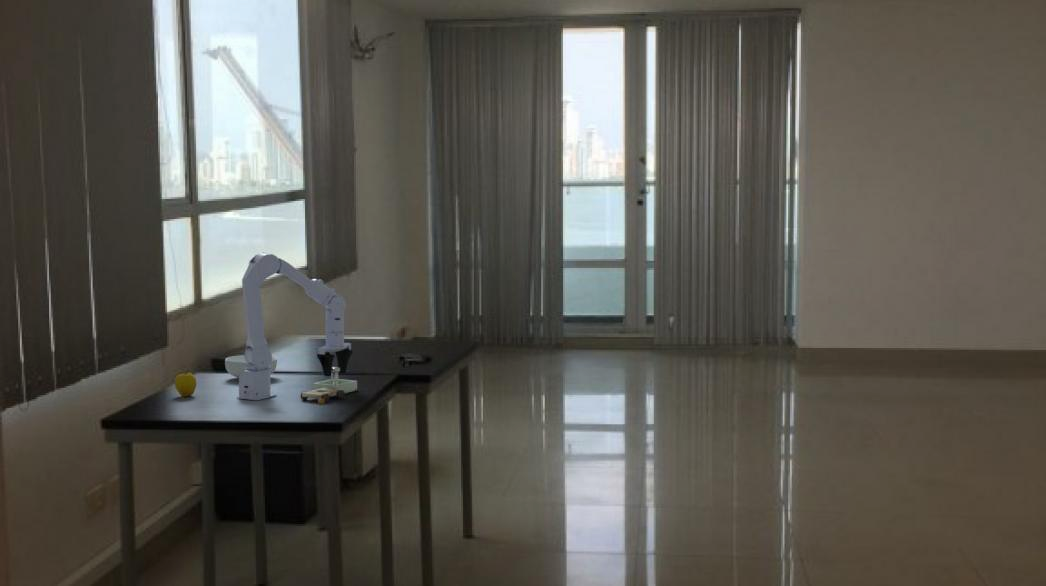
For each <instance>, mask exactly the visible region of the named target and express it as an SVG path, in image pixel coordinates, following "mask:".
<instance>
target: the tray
mask: <svg viewBox="0 0 1046 586" xmlns="http://www.w3.org/2000/svg"><path fill="white" fill-rule="evenodd" d="M317 388H334V389H343V391H344V393H345V394H347V393H348V394H349V393H350V392H351V393H352V392H355V390H356V391H358V380H351V379H343V378H341V379H340V378H338V385H331V378H330V379H326V380H322V381H318V382H317V381H316V382H313V383H312V390H316V389H317Z"/></svg>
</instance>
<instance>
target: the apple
mask: <svg viewBox="0 0 1046 586" xmlns="http://www.w3.org/2000/svg"><path fill="white" fill-rule="evenodd" d="M196 387H197V379H196V377H195V375H194V373H191V372H189V370H187V371H186V372H184V373H180V374H178V375H176V376H175V379H174V388H175V389H176V391H177V392H178V393H179V395H180V396H181V397H183V398H187V397H190V396H193V395H194V393H195V391H196Z"/></svg>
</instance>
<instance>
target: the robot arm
mask: <svg viewBox="0 0 1046 586" xmlns="http://www.w3.org/2000/svg"><path fill="white" fill-rule="evenodd" d="M274 274H278V275H284V276H286V278H289V279H290V280H291V281H293V282H294V283H296V284H298V285H299V286H301V287H302V288H304V293H305V295H306V296H308V297H309V298H311V300H312V299H313V300H314V301H315V302H317V303H318V304H320V305H321V306H323V309H324V310H325V345H323V346H321V347H318V348H317V353H316V357H317V359H318V360H319V362H320V365H321V367H322V372H323V375H324V377H331V374H332V367H333V362H334V359H335V356H336V360H337V367H340V371H338V374H346V373H347V369H348V365H349V361H350V358H351V356H352V354H353V349H352V343H351V342H345V313H344V311H345V310H346V309H347V305H348V303H347V302H346V299H345V297H344V296H343V295H341V294H337V293H336V290H335V289H334V288H330V287H329V286H327V285H326V284H324V280H322V279H317V278H313V279H310V278H309V277H308V276H306V275H305V274H304V273H302V272H301V271H300V270H299V269H297V268H296V267H294V266H293V265H292V264H291V263H289V262H288V261H286V260H284V259H282V258H280V257H278V256H277V255H275V254H272V253H267V252H259V253H257V254H255V255H254V256H253V257H252V258H251V259H250V260H249V262H248V265H247V268H246V270H245V273H244V274H243V276H242V279H241V285H242V294H243V303H244V304H243V305H244V313H245V323H246V324H245V325H246V331H247V339H246V342H245V344H246V348H245V350H244V354H243V355H244V357H245V360H246V361H247V363H248V364H247V366H246V370H245V371H244V372H242V373H241V374H240V376H239V378H238V396H236V399H241V400H252V401H260V400H264V399H269V398H274V397H277V396H278V395H277V394H276V393H271V375H270V366H269V365H270V364H271V362H272V357H273V355H272V352H271V351H270V349H269V347H268V341H267V339H266V335H265V326H264V325H265V324H264V316H263V307H262V298H261V287H260V286H261V285H262V284H263V283H264V282H265V281H266V280H267V278H269V277H271V276H274ZM332 353H335V354H332Z"/></svg>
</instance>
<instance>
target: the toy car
mask: <svg viewBox="0 0 1046 586" xmlns="http://www.w3.org/2000/svg"><path fill="white" fill-rule="evenodd" d="M345 394H346V393H344V391H343V389H334V388H317V389H316V390H313V389H312V390H308V391H302V392H301V393H300V399H301V400H302V401H307V400H308V399H309V398H312V399H317V404H319V405H322V404H325V403H327V404H328V402H329V400H330V397H334V396H336V397H337V399H342V400H343V399H344V397H345Z"/></svg>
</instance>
